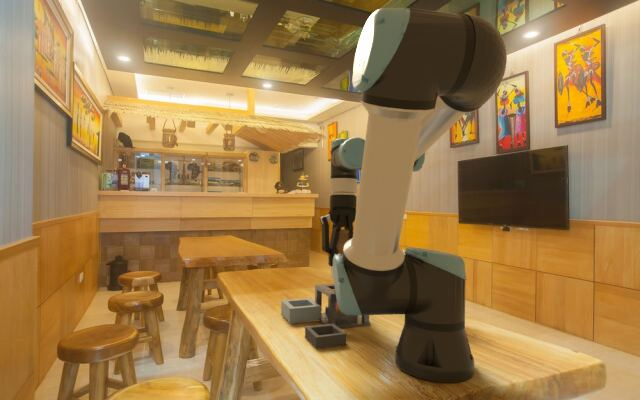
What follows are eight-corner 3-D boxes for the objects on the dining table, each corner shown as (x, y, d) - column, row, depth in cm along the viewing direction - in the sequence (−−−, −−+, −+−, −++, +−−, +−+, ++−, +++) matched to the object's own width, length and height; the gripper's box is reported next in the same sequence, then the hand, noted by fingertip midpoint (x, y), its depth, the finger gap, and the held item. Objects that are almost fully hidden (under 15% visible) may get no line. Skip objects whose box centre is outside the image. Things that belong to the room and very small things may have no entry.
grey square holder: (320, 320, 99) (321, 306, 99) (289, 323, 96) (290, 308, 96) (310, 311, 107) (310, 298, 107) (281, 314, 104) (281, 300, 104)
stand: (346, 344, 82) (346, 333, 82) (315, 348, 79) (316, 337, 79) (333, 333, 89) (333, 323, 89) (305, 337, 86) (305, 326, 86)
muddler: (350, 302, 98) (352, 230, 99) (337, 303, 97) (338, 230, 97) (344, 298, 102) (345, 229, 103) (331, 299, 101) (333, 229, 101)
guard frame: (370, 324, 96) (370, 291, 96) (329, 329, 92) (330, 294, 92) (350, 312, 107) (351, 282, 107) (313, 316, 103) (314, 284, 103)
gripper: (363, 195, 107) (362, 273, 106) (310, 193, 101) (308, 276, 100) (376, 194, 100) (375, 278, 99) (320, 192, 94) (318, 281, 93)
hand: (341, 277), depth 100 cm, fingers closed on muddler, 4 cm apart
